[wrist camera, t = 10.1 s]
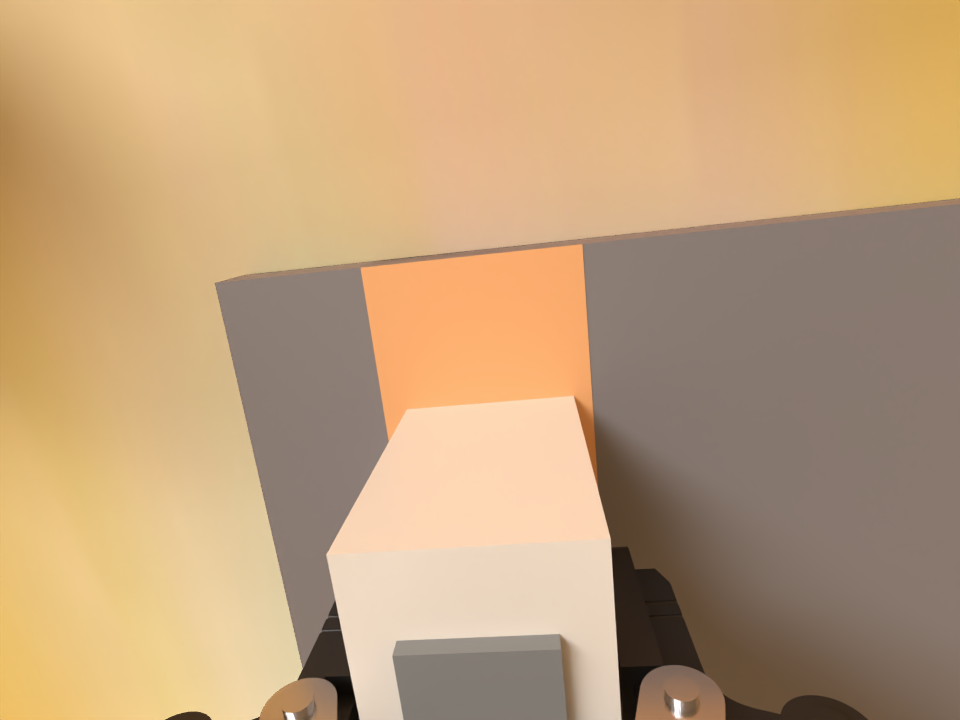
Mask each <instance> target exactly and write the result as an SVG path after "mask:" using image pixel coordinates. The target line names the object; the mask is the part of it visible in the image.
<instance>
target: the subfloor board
mask: <svg viewBox="0 0 960 720" xmlns="http://www.w3.org/2000/svg"><path fill="white" fill-rule="evenodd" d="M215 285H216V290H217V294H218V298H219V303H220V307H221V312H222V316H223V320H224V325H225V329H226V334H227V338H228V342H229V347H230V351H231V356H232V360H233V364H234V369H235V373H236V377H237V382H238V386H239V391H240V395H241V399H242V404H243V408H244V413H245V417H246V421H247V426H248V430H249V435H250V439H251V443H252V448H253V452H254V457H255V461H256V465H257V470H258V474H259V478H260V483H261V487H262V492H263V496H264V500H265V505H266V509H267V514H268V518H269V522H270V527H271V531H272V536H273V540H274V544H275V549H276V553H277V558H278V562H279V566H280V571H281V575H282V580H283V584H284V588H285V593H286V597H287V601H288V606H289V610H290V615H291V619H292V623H293V628H294V632H295V637H296V641H297V645H298V650H299V654H300V659H301V663H302V667H303V668H304V665H305V663H306V661H307V659H308V657H309V655H310V653H311V651H312V648H313V646H314V644H315V642H316V640H317V638H318V636H319V634H320V633H321V632H322V627H323V625H324V623H325V621H326V619H328V614H329V612H330V610H331V608H332V606H333V604H334V602H335V595H334V591H333V586H332V581H331V576H330V571H329V566H328V561H327V556H326V554H327V553H328V551H329V549H330V547H331V545H332V544H333V542H334V540H335V538H336V536H337V535H338V533H339V531H340V529H341V527H342V526H343V524H344V522H345V520H346V518H347V517H348V515H349V513H350V511H351V509H352V508H353V506H354V504H355V502H356V500H357V499H358V497H359V495H360V493H361V491H362V490H363V488H364V486H365V484H366V482H367V480H368V479H369V477H370V475H371V473H372V471H373V470H374V468H375V466H376V464H377V462H378V461H379V459H380V457H381V455H382V453H383V452H384V450H385V448H386V446H387V444H388V443H389V441H390V439H391V437H392V435H393V434H394V432H395V430H396V428H397V426H398V425H399V423H400V421H401V419H402V417H403V416H404V414H405V412H406V410H407V409H417V408H430V407H442V406H454V405H467V404H479V403H491V402H504V401H516V400H529V399H541V398H553V397H566V396H574V399H575V403H576V406H577V410H578V414H579V418H580V422H581V426H582V430H583V434H584V437H585V441H586V445H587V449H588V453H589V457H590V461H591V465H592V468H593V472H594V476H595V480H596V484H597V488H598V492H599V496H600V499H601V503H602V507H603V511H604V515H605V519H606V523H607V526H608V530H609V534H610V538H611V547H628V548H629V551H630V554H631V558H632V561H633V564H634V568H635V569H652V568H655V569H656V570H657V571H658V572H659V573H660V574H661V575H662V576H664V577H665V578H666V579H667V580H668V581H669V582H670V584H671V586H672V589H673V592H674V594H675V597H676V599H677V603H678V605H679V607H680V610H681V612H682V617H683V618H684V620H685V623H686V626H687V628H688V631H689V633H690V636H691V639H692V641H693V644H694V646H695V649H696V652H697V654H698V657H699V660H700V662H701V665H702V667H703V670H704V672H705V674H706V675H707V676H708V677H710V678H711V679H712V680H713V681H714V682H715V683H716V684H717V685H718V687H719V688H720V690H721V691H722V693H723V694H724V695H725V696H727V697H728V698H730V699H732V700H734V701H736V702H738V703H740V704H743V705H745V706H749V707H752V708H756V709H760V710H765V711H769V712H773V713H777V714H781V711H782V708H783V706H784V705H785V704H786V703H787V702H788V701H790V700H791V699H793V698H796V697H799V696H804V695H818V696H824V697H829V698H832V699H835V700H838V701H840V702H842V703H845V704H847V705H848V706H850V707H852V708H854V709H855V710H857V711H858V712H860V713H861V714H862V715H863V716H864V717H866V718H867V719H868V720H960V199H951V200H942V201H932V202H923V203H914V204H904V205H895V206H886V207H876V208H867V209H858V210H848V211H839V212H830V213H820V214H811V215H802V216H792V217H783V218H774V219H764V220H755V221H746V222H736V223H727V224H717V225H708V226H699V227H689V228H680V229H671V230H661V231H652V232H643V233H633V234H624V235H615V236H605V237H596V238H587V239H577V240H568V241H559V242H549V243H540V244H531V245H521V246H512V247H503V248H493V249H484V250H474V251H465V252H456V253H446V254H437V255H428V256H418V257H409V258H400V259H390V260H381V261H372V262H362V263H353V264H344V265H334V266H325V267H316V268H306V269H297V270H288V271H278V272H269V273H260V274H250V275H243V276H239V277H236V278H232V279H228V280H225V281H221V282H217V283H215Z"/></svg>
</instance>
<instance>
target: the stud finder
mask: <svg viewBox="0 0 960 720" xmlns="http://www.w3.org/2000/svg"><path fill="white" fill-rule="evenodd" d="M326 556H327V561H328V566H329V571H330V576H331V581H332V586H333V591H334V595H335V600H336V605H337V610H338V615H339V620H340V625H341V630H342V635H343V640H344V645H345V650H346V655H347V660H348V665H349V669H350V674H351V679H352V684H353V689H354V694H355V699H356V704H357V709H358V714H359V719H360V720H621V704H620V687H619V671H618V654H617V637H616V620H615V603H614V587H613V570H612V553H611V538H610V534H609V530H608V526H607V523H606V519H605V515H604V511H603V507H602V503H601V499H600V496H599V492H598V488H597V484H596V480H595V476H594V472H593V468H592V465H591V461H590V457H589V453H588V449H587V445H586V441H585V437H584V434H583V430H582V426H581V422H580V418H579V414H578V410H577V406H576V403H575V399H574V396H566V397H553V398H541V399H529V400H516V401H504V402H491V403H479V404H467V405H454V406H442V407H430V408H417V409H407V410H406V412H405V414H404V416H403V417H402V419H401V421H400V423H399V425H398V426H397V428H396V430H395V432H394V434H393V435H392V437H391V439H390V441H389V443H388V444H387V446H386V448H385V450H384V452H383V453H382V455H381V457H380V459H379V461H378V462H377V464H376V466H375V468H374V470H373V471H372V473H371V475H370V477H369V479H368V480H367V482H366V484H365V486H364V488H363V490H362V491H361V493H360V495H359V497H358V499H357V500H356V502H355V504H354V506H353V508H352V509H351V511H350V513H349V515H348V517H347V518H346V520H345V522H344V524H343V526H342V527H341V529H340V531H339V533H338V535H337V536H336V538H335V540H334V542H333V544H332V545H331V547H330V549H329V551H328V553H327V554H326Z"/></svg>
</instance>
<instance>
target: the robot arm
mask: <svg viewBox="0 0 960 720" xmlns="http://www.w3.org/2000/svg"><path fill="white" fill-rule="evenodd" d="M611 553H612V570H613V587H614V603H615V620H616V637H617V654H618V671H619V687H620V704H621V720H868V719H867V718H866V717H864V716H863V715H862V714H861V713H860V712H858V711H857V710H855V709H854V708H852V707H850V706H848V705H847V704H845V703H842V702H840V701H838V700H835V699H832V698H829V697H824V696H818V695H804V696H799V697H796V698H793V699H791V700H790V701H788V702H787V703H786V704H785V705H784V706H783V708H782V711H781V714H777V713H773V712H769V711H765V710H760V709H756V708H752V707H749V706H745V705H743V704H740V703H738V702H736V701H734V700H732V699H730V698H728V697H727V696H725V695H724V694H723V693H722V691H721V690H720V688H719V687H718V685H717V684H716V683H715V682H714V681H713V680H712V679H711V678H710V677H708V676H707V675H706V674H705V672H704V670H703V667H702V665H701V662H700V660H699V657H698V654H697V652H696V649H695V646H694V644H693V641H692V639H691V636H690V633H689V631H688V628H687V626H686V623H685V620H684V618H683V617H682V612H681V610H680V607H679V605H678V603H677V599H676V597H675V594H674V592H673V589H672V586H671V584H670V582H669V581H668V580H667V579H666V578H665V577H664V576H662V575H661V574H660V573H659V572H658V571H657V570H656V569H655V568H652V569H635V568H634V564H633V561H632V558H631V554H630V551H629V548H628V547H611ZM166 720H211V718H210V717H209V716H208V715H206V714H204V713H201V712H185V713H181V714H177V715H175V716H172V717H170V718H168V719H166ZM253 720H360V719H359V714H358V709H357V704H356V699H355V694H354V689H353V684H352V679H351V674H350V669H349V665H348V660H347V655H346V650H345V645H344V640H343V635H342V630H341V625H340V620H339V615H338V610H337V605H336V600H335V602H334V604H333V606H332V608H331V610H330V612H329V614H328V619H326V621H325V623H324V625H323V627H322V632H321V633H320V634H319V636H318V638H317V640H316V642H315V644H314V646H313V648H312V651H311V653H310V655H309V657H308V659H307V661H306V663H305V665H304V668H303V670H302V672H301V674H300V676H299V678H298V680H297V681H295V682H292V683H290V684H288V685H286V686H285V687H283V688H281V689H280V690H279V691H277V692H276V693H275V694H274V695H273V696H272V697H271V698H270V699H269V700H268V701H267V703H266V704H265V706H264V707H263V709H262V712H261V715H260V717H258V718H256V719H253Z"/></svg>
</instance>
